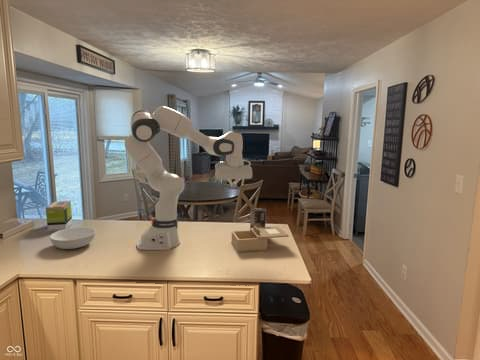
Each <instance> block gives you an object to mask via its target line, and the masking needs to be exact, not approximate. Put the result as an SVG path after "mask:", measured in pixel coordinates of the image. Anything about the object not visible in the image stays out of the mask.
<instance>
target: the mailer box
mask: <svg viewBox="0 0 480 360" xmlns="http://www.w3.org/2000/svg"><path fill="white" fill-rule="evenodd" d="M268 239H269V238H259V239H258V238H257V237H256V236H255V235H254V234H253V232H252V231H251V230H250V229H247V230H246V229H245V230H244V229H243V230H231V245H232V246H233V248H234V250H235V252H236V253H237V254H242V253H243V254H244V253H257V252H268Z"/></svg>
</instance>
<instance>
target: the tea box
mask: <svg viewBox="0 0 480 360" xmlns="http://www.w3.org/2000/svg"><path fill="white" fill-rule="evenodd" d="M72 211H73V210H72V201H71V200H64V201H63V200H60V201H53V202H52V203H49V204H48V205H47V206H46V207H45V215H46V227H47V231H48V232H57V231H60V230H64V229H68V228H70V226H71V224H73V214H72V213H73V212H72Z"/></svg>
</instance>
